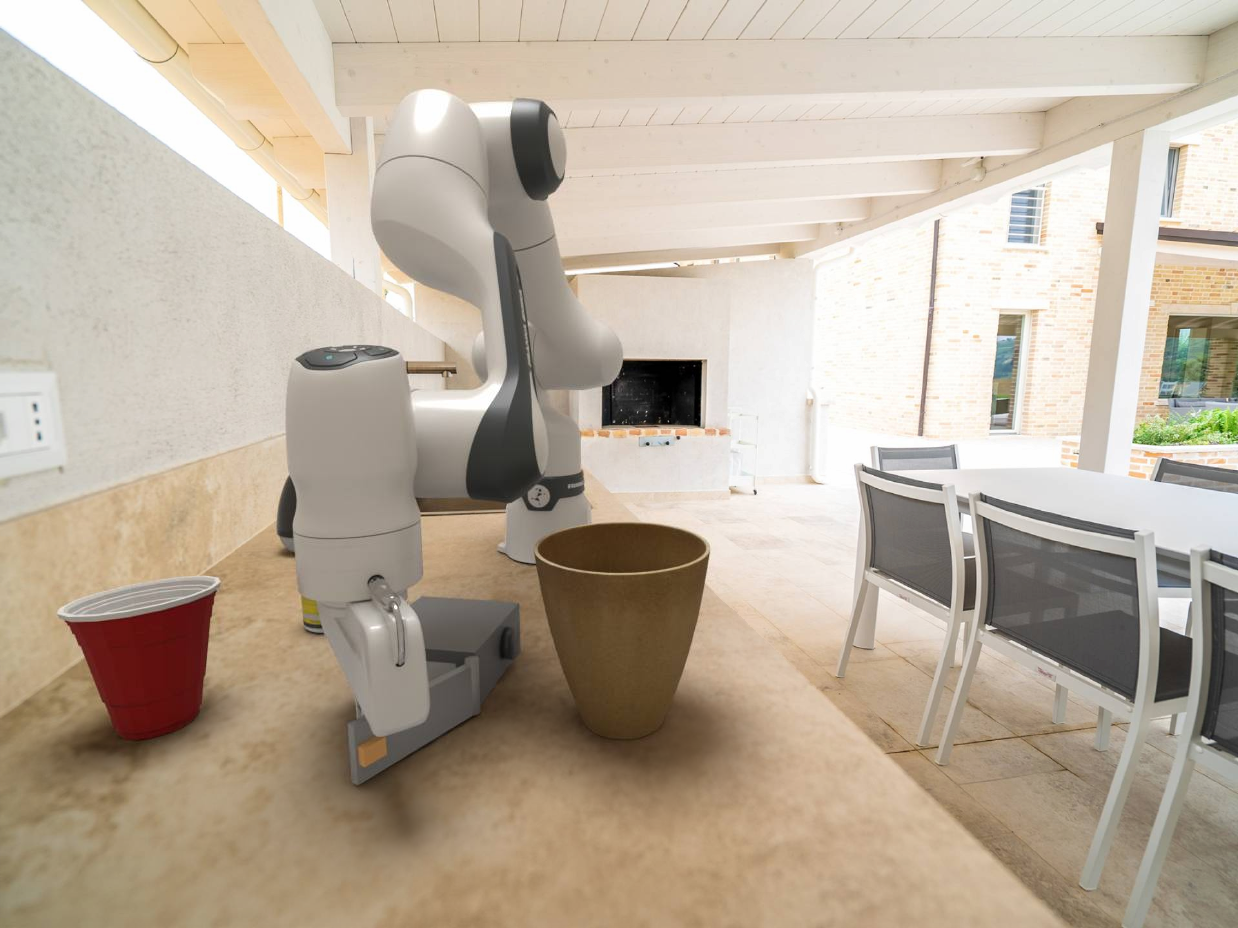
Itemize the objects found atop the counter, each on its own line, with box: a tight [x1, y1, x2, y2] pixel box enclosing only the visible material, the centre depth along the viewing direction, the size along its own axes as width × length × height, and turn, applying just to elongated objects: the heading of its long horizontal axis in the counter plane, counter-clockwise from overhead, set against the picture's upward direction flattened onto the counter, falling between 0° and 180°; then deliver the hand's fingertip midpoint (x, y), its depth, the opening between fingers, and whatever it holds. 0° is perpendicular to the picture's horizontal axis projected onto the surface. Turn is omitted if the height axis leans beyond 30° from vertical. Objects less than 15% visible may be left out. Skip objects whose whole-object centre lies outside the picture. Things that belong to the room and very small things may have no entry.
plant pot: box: [534, 521, 711, 740], centre depth 50 cm, size 15×15×16 cm
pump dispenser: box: [275, 474, 297, 553], centre depth 101 cm, size 10×10×15 cm
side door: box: [347, 656, 481, 786], centre depth 47 cm, size 2×12×5 cm, turn 145°
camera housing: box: [408, 595, 522, 706], centre depth 59 cm, size 12×12×6 cm
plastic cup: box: [56, 575, 221, 741], centre depth 50 cm, size 11×11×12 cm
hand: (372, 727), depth 46 cm, fingers closed
